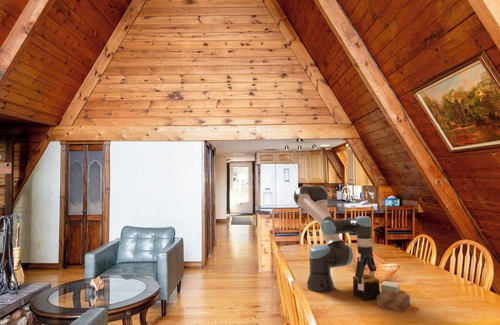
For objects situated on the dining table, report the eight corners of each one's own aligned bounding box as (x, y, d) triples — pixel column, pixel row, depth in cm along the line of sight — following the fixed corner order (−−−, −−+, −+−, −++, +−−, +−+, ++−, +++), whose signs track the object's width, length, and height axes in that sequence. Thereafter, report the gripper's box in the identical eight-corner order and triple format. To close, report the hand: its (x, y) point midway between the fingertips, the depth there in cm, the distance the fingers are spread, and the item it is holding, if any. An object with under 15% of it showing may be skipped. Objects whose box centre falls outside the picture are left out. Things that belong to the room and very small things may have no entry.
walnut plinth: (376, 307, 162) (376, 296, 162) (385, 300, 171) (384, 290, 171) (402, 313, 154) (402, 302, 154) (410, 305, 163) (409, 295, 163)
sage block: (381, 292, 182) (380, 284, 182) (383, 288, 189) (383, 280, 189) (397, 294, 178) (396, 287, 178) (399, 290, 184) (398, 283, 184)
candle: (364, 301, 168) (363, 281, 169) (352, 295, 178) (351, 276, 178) (380, 299, 171) (380, 279, 172) (368, 292, 181) (367, 274, 181)
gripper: (361, 250, 164) (363, 294, 163) (381, 243, 182) (383, 282, 181) (347, 248, 169) (349, 291, 168) (368, 241, 188) (369, 279, 186)
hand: (366, 286), depth 175 cm, fingers open, 13 cm apart
